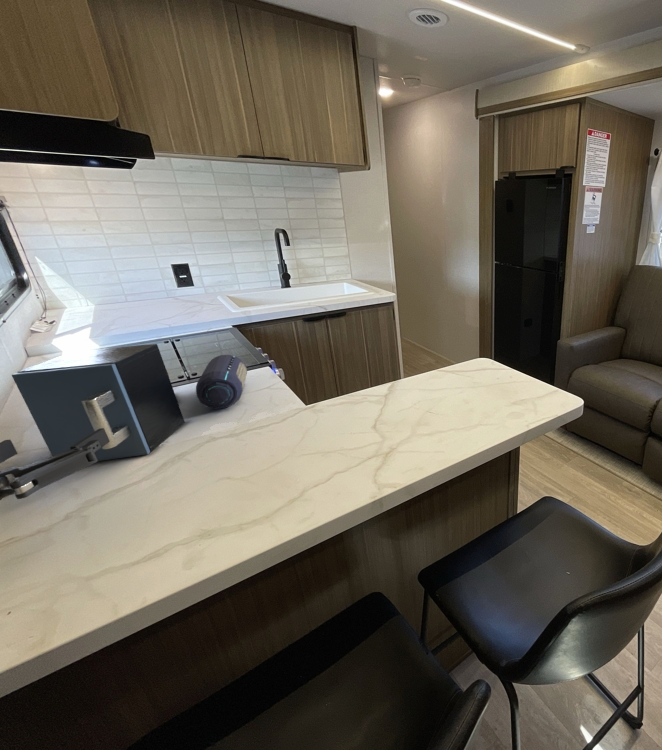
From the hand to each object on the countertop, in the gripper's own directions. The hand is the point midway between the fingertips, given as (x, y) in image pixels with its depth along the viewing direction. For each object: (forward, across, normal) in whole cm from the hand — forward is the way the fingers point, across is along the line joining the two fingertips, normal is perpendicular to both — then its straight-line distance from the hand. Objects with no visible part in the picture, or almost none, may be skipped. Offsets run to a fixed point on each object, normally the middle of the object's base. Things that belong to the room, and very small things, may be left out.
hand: (59, 440), depth 69 cm
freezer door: (+9, -4, -10) cm, 14 cm away
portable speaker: (+42, +8, -10) cm, 44 cm away
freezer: (+19, -4, -10) cm, 22 cm away
